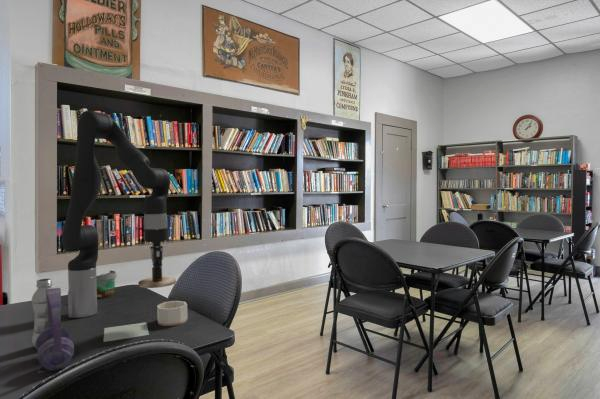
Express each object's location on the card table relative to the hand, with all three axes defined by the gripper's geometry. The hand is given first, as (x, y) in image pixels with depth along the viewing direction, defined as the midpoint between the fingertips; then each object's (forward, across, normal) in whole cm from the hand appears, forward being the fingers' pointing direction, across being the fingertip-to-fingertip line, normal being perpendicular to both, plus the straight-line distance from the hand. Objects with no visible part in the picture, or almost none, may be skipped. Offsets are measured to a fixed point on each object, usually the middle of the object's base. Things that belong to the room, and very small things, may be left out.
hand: (157, 277), depth 136 cm
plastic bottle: (+17, +5, -32) cm, 36 cm away
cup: (+17, -2, +5) cm, 17 cm away
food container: (+16, -50, -18) cm, 55 cm away
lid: (+2, 0, 0) cm, 2 cm away
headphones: (+17, +19, -28) cm, 37 cm away
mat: (+16, +2, -10) cm, 19 cm away
